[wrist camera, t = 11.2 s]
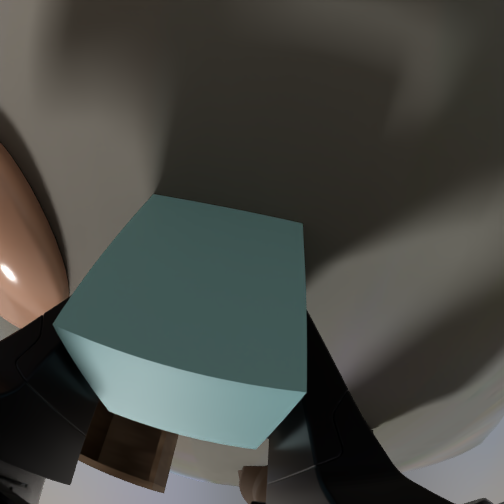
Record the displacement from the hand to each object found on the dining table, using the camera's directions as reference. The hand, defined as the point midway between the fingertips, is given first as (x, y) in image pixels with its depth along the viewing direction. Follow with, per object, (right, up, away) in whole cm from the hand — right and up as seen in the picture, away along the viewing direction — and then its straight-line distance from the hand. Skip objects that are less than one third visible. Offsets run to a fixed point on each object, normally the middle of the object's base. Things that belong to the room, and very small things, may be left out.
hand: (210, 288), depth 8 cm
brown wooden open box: (-9, -13, +12) cm, 20 cm away
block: (0, +1, +1) cm, 1 cm away
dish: (-13, +2, +2) cm, 13 cm away
